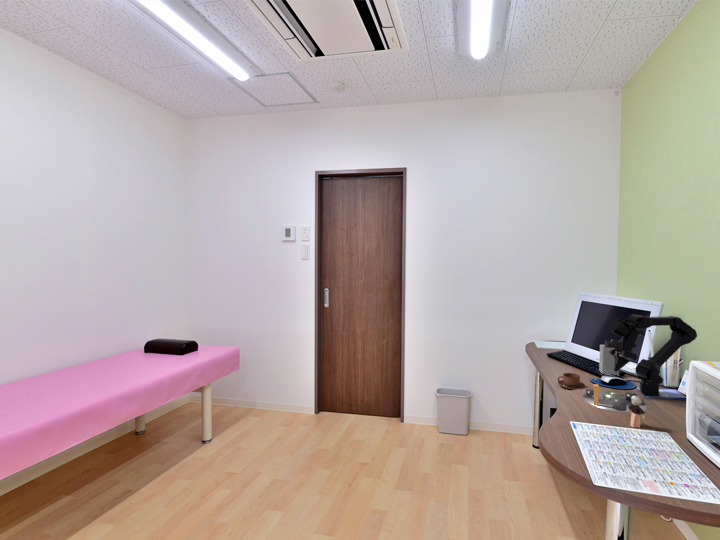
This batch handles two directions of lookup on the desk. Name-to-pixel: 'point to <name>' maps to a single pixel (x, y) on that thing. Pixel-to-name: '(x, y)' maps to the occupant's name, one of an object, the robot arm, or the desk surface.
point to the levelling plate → (591, 401)
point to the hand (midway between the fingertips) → (615, 371)
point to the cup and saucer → (571, 381)
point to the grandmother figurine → (636, 411)
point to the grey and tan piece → (617, 402)
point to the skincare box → (607, 361)
